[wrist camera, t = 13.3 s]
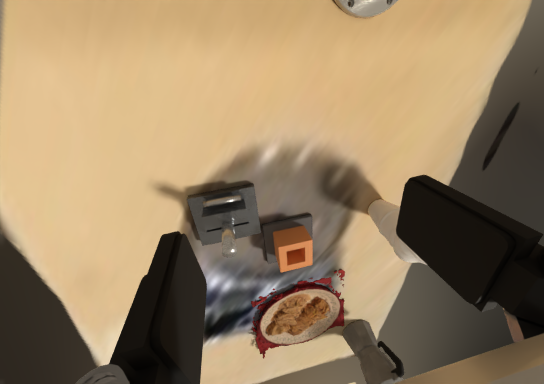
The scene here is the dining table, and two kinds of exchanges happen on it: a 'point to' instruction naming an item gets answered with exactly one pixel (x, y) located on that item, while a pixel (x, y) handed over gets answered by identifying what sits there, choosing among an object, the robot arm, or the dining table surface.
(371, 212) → the soft serve ice cream cone
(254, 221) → the grey peg stand
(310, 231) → the mat
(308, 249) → the orange square tube
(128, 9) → the dining table surface
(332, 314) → the plate with food
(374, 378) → the coffeepot
